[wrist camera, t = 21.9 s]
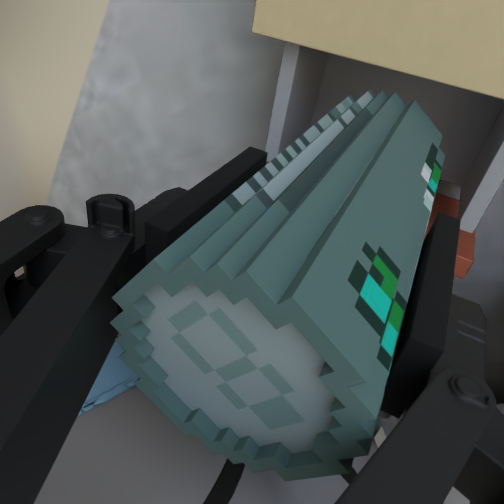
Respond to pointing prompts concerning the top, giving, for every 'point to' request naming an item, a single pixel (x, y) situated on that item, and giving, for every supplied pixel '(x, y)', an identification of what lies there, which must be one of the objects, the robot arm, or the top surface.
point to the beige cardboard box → (399, 36)
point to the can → (291, 295)
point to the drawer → (409, 89)
